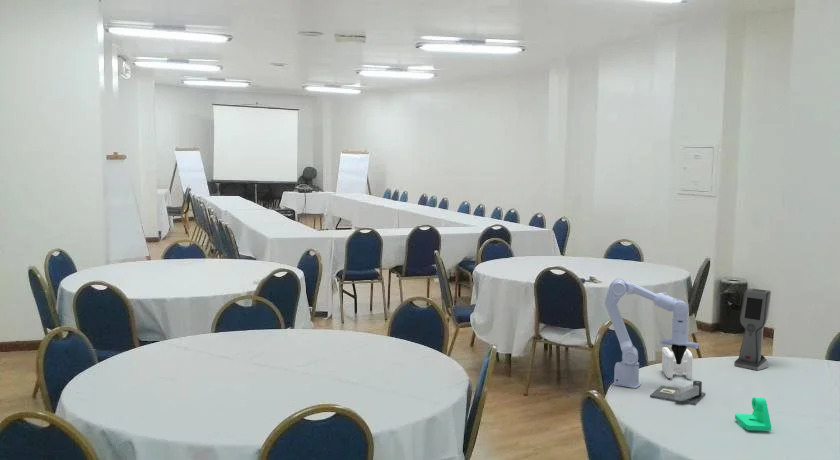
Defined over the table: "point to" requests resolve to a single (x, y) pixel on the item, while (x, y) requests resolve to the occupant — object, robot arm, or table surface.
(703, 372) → the table surface
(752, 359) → the thermal camera
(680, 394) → the bar
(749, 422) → the camera mount
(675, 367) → the cable organizer
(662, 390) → the label
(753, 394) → the table surface
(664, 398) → the lid
